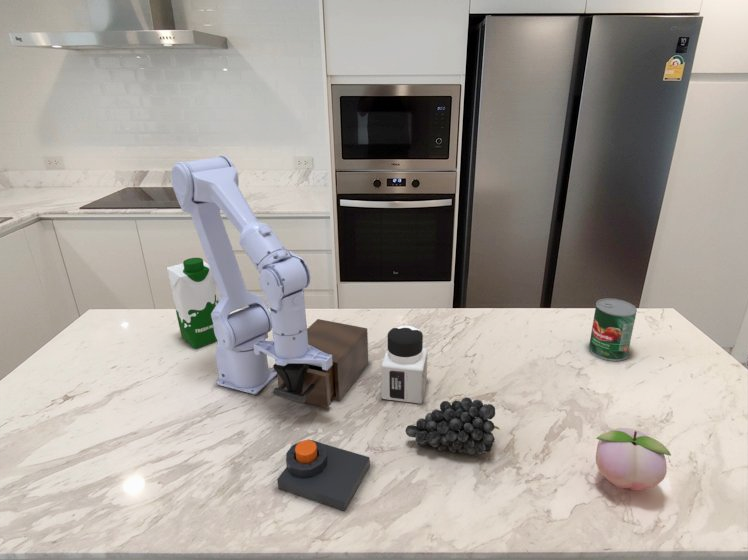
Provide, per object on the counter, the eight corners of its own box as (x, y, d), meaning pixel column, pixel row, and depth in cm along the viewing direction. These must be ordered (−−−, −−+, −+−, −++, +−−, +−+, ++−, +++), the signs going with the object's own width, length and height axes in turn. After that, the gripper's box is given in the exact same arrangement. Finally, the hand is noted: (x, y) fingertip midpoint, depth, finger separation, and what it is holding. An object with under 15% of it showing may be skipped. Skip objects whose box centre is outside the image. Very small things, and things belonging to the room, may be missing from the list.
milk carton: (193, 352, 107) (177, 269, 99) (176, 337, 113) (160, 258, 105) (229, 338, 112) (217, 258, 105) (211, 324, 118) (198, 248, 111)
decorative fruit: (649, 468, 74) (663, 416, 70) (665, 512, 67) (681, 456, 63) (584, 458, 76) (594, 407, 72) (593, 499, 69) (605, 445, 65)
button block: (275, 487, 72) (272, 469, 70) (305, 447, 79) (304, 430, 78) (344, 511, 68) (343, 493, 66) (369, 466, 75) (369, 448, 74)
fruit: (404, 407, 74) (503, 408, 73) (405, 390, 82) (494, 390, 81) (405, 461, 75) (502, 463, 74) (406, 439, 83) (494, 440, 82)
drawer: (315, 424, 83) (312, 391, 80) (264, 410, 87) (260, 378, 84) (356, 371, 98) (355, 342, 95) (312, 361, 101) (309, 332, 99)
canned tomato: (630, 348, 106) (639, 303, 102) (624, 365, 100) (634, 318, 96) (592, 338, 110) (599, 295, 106) (584, 354, 104) (592, 309, 100)
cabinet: (339, 401, 90) (337, 362, 87) (286, 388, 94) (282, 350, 91) (368, 363, 102) (367, 328, 98) (320, 353, 106) (317, 318, 103)
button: (292, 460, 72) (291, 451, 72) (303, 446, 75) (302, 437, 74) (310, 466, 71) (309, 457, 71) (321, 452, 74) (320, 443, 73)
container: (421, 404, 89) (423, 344, 84) (381, 399, 91) (380, 339, 86) (426, 380, 96) (428, 323, 91) (388, 376, 98) (388, 319, 93)
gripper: (239, 331, 80) (249, 398, 85) (315, 346, 75) (321, 417, 80) (263, 312, 86) (271, 376, 91) (336, 326, 81) (340, 393, 86)
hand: (296, 394), depth 86 cm, fingers closed, pressing on drawer
